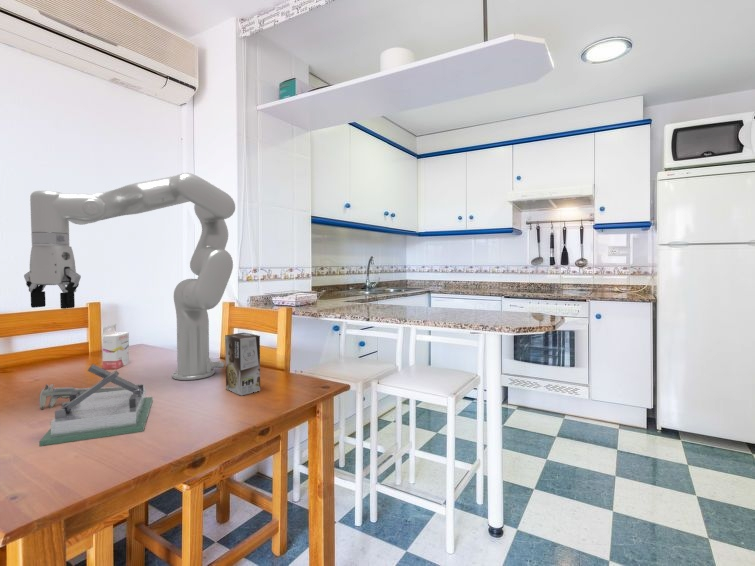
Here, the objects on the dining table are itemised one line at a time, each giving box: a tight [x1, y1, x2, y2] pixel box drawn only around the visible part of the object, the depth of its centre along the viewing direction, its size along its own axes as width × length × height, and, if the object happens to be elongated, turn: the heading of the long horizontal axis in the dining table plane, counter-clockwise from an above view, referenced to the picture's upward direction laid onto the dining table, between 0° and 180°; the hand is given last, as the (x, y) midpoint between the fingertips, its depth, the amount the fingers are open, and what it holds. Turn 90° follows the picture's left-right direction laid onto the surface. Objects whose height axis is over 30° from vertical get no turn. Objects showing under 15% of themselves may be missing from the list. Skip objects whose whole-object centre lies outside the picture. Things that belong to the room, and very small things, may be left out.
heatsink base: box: [38, 383, 154, 447], centre depth 94 cm, size 18×22×6 cm
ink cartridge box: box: [101, 323, 130, 370], centre depth 144 cm, size 9×5×15 cm, turn 6°
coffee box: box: [224, 332, 261, 397], centre depth 117 cm, size 9×6×16 cm
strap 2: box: [87, 364, 142, 392], centre depth 99 cm, size 13×3×1 cm
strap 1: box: [60, 370, 120, 412], centre depth 89 cm, size 13×3×1 cm
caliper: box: [39, 383, 127, 410], centre depth 109 cm, size 20×1×6 cm, turn 144°
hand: (52, 307), depth 104 cm, fingers open, 9 cm apart
